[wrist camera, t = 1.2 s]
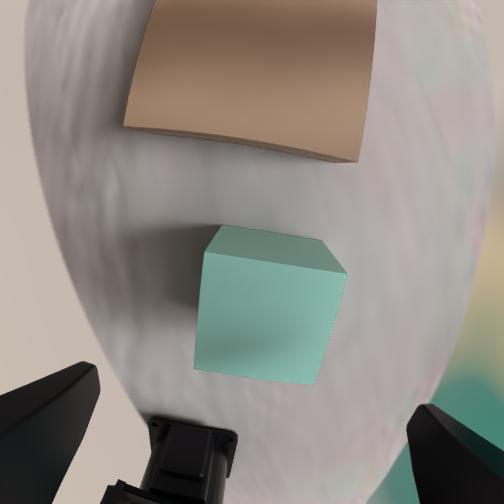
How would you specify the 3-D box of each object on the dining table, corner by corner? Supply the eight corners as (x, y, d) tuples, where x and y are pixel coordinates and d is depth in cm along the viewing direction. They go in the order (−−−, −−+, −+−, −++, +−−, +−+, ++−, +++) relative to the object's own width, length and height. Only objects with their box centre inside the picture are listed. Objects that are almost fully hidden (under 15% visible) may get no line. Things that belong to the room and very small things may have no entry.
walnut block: (333, 163, 14) (357, 162, 10) (156, 134, 14) (123, 125, 10) (355, 13, 12) (377, -22, 8) (192, -11, 12) (174, -49, 8)
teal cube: (301, 327, 17) (313, 384, 12) (211, 313, 16) (193, 368, 12) (321, 240, 15) (347, 274, 10) (222, 224, 15) (204, 251, 10)
